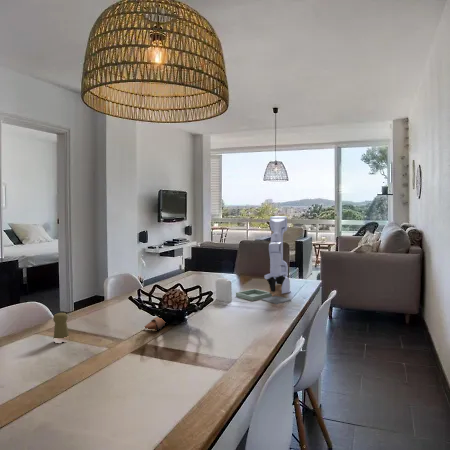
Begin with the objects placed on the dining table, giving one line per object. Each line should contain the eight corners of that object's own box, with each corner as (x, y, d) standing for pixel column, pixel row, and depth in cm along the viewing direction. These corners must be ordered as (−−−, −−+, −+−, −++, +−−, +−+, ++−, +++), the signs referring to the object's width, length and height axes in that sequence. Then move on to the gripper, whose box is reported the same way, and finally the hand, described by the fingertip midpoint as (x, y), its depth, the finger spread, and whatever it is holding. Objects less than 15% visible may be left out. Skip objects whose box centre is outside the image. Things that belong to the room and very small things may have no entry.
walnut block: (275, 292, 212) (274, 282, 211) (281, 293, 208) (281, 284, 207) (269, 293, 209) (269, 284, 209) (276, 295, 205) (276, 285, 205)
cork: (73, 339, 156) (71, 311, 156) (62, 344, 150) (60, 316, 150) (60, 337, 158) (59, 310, 158) (49, 343, 152) (48, 315, 152)
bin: (254, 293, 228) (254, 288, 228) (271, 297, 217) (271, 292, 217) (236, 297, 219) (235, 292, 219) (252, 301, 208) (252, 296, 208)
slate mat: (276, 297, 216) (276, 295, 216) (291, 301, 207) (291, 299, 207) (261, 300, 209) (261, 298, 209) (276, 304, 201) (276, 302, 201)
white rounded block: (214, 299, 214) (214, 277, 214) (221, 298, 217) (220, 276, 216) (226, 303, 206) (226, 279, 206) (233, 301, 209) (232, 278, 208)
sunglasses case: (157, 318, 182) (163, 306, 181) (169, 326, 180) (176, 314, 179) (139, 330, 164) (146, 317, 163) (153, 340, 163) (160, 327, 162)
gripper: (271, 267, 200) (271, 294, 200) (290, 264, 209) (291, 289, 209) (261, 266, 205) (262, 291, 206) (281, 263, 214) (281, 287, 215)
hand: (276, 290), depth 208 cm, fingers closed on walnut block, 4 cm apart
